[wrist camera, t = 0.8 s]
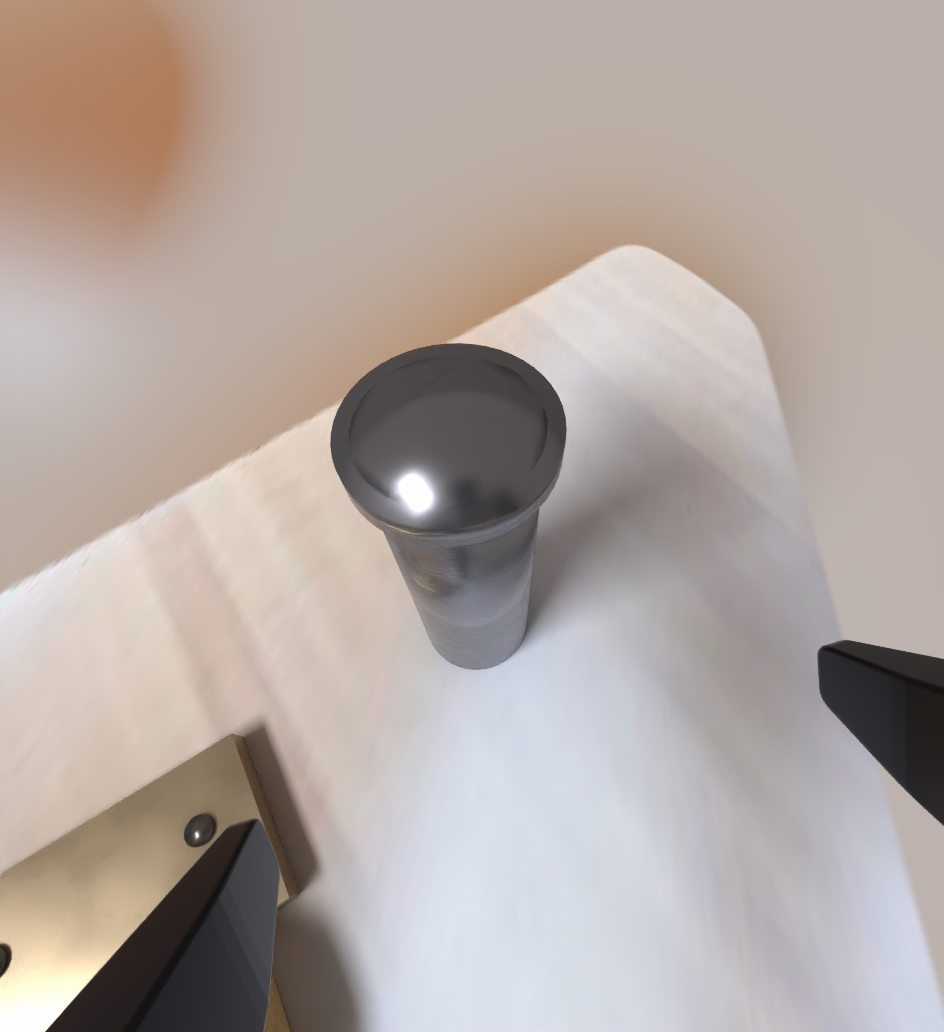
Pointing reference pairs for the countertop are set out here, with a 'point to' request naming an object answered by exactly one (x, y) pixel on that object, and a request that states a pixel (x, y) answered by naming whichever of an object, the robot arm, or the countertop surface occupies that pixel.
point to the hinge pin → (456, 485)
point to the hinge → (120, 882)
